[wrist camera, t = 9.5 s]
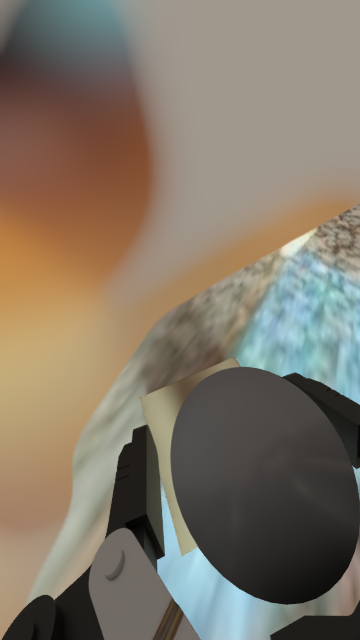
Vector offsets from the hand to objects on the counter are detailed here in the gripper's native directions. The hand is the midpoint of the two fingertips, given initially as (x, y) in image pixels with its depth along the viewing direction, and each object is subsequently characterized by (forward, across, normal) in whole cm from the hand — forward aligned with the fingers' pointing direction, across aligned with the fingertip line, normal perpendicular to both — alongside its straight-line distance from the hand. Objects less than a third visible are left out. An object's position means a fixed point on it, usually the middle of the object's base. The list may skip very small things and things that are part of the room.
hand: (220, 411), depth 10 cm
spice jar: (+3, 0, +5) cm, 6 cm away
